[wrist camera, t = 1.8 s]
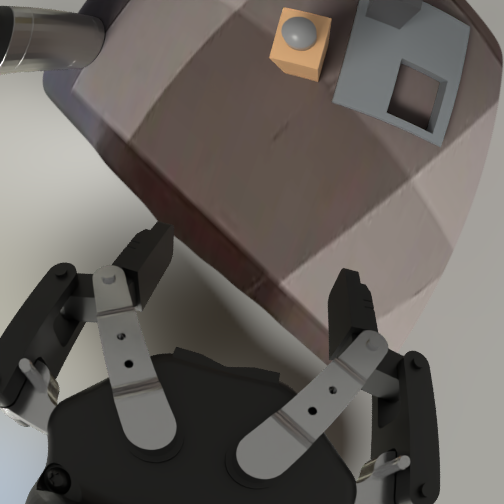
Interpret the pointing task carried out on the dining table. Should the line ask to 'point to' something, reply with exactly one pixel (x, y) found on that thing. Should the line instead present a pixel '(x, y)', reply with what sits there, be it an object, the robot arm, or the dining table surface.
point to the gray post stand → (402, 60)
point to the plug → (301, 43)
